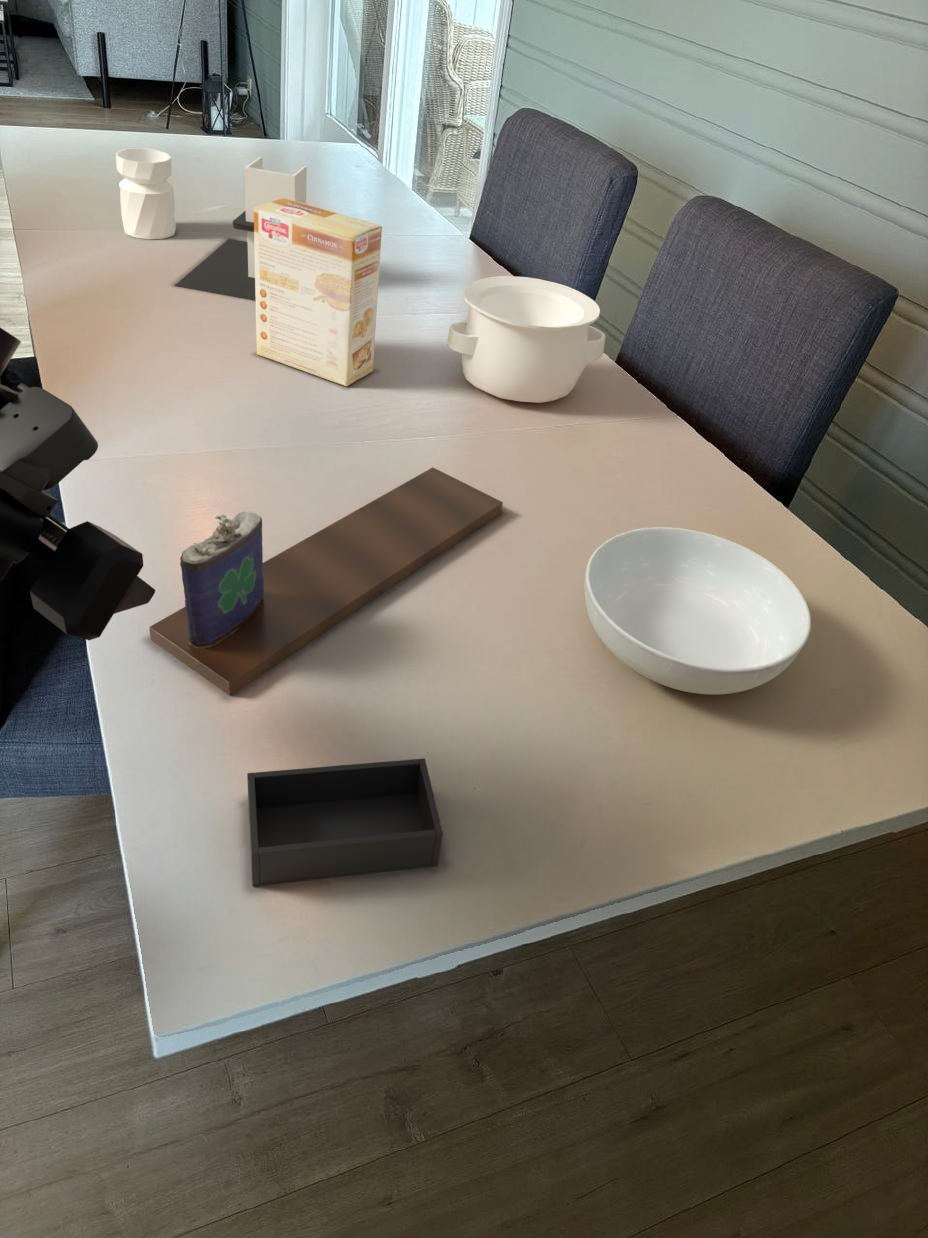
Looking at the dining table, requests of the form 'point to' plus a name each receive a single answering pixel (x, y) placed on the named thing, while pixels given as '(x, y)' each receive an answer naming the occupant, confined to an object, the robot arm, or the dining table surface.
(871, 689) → the dining table surface
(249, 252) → the black and white stand
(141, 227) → the vase
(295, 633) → the board
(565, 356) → the pot
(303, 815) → the open box
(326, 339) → the coffeecake box
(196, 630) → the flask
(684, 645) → the serving bowl
